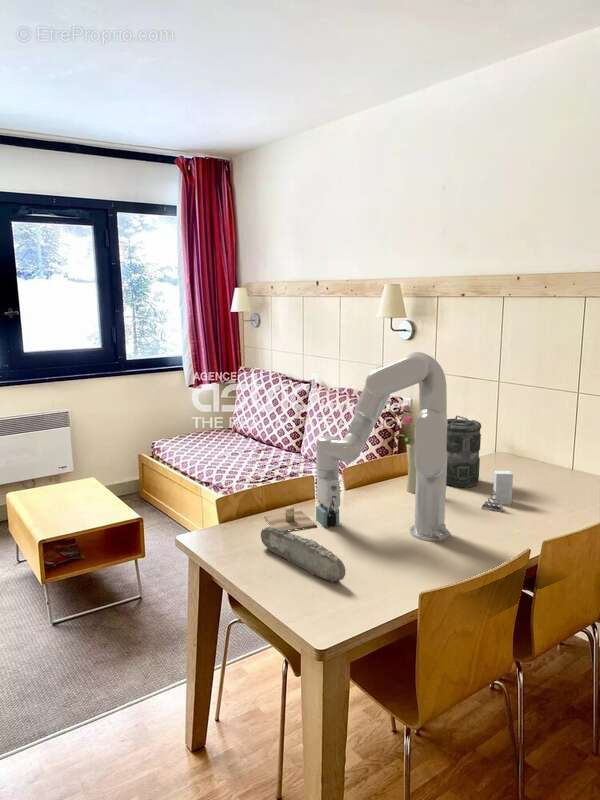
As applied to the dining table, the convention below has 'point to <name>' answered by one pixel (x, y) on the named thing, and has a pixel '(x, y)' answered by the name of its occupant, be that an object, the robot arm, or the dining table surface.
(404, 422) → the flower vase
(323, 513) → the dusty teal cube
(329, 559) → the elongated rock
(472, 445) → the canister
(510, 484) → the skincare box
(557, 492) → the dining table surface
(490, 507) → the silver ball pyramid
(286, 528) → the post block
